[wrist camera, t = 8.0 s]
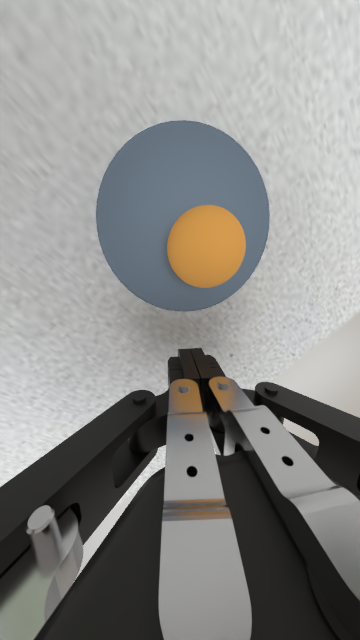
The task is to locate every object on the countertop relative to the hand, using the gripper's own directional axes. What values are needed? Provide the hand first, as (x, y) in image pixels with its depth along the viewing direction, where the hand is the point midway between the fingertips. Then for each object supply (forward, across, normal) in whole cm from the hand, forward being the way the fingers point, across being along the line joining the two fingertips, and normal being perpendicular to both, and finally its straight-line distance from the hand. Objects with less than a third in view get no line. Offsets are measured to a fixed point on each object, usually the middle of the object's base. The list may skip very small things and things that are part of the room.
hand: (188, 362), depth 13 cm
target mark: (+6, -1, -9) cm, 11 cm away
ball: (+3, -2, -7) cm, 8 cm away
